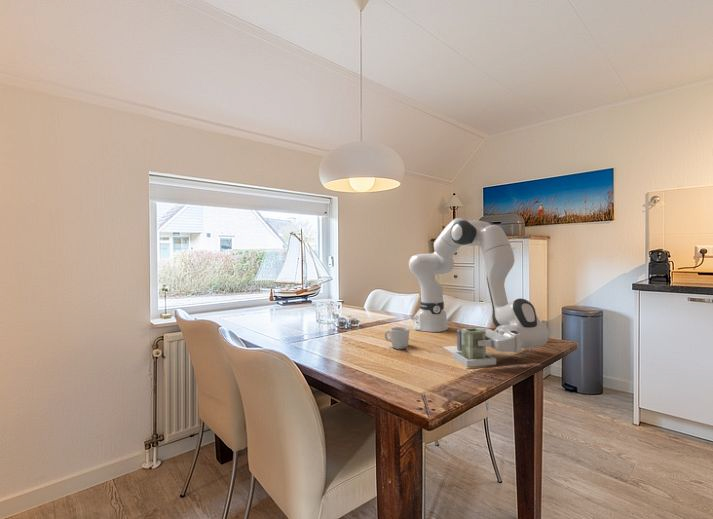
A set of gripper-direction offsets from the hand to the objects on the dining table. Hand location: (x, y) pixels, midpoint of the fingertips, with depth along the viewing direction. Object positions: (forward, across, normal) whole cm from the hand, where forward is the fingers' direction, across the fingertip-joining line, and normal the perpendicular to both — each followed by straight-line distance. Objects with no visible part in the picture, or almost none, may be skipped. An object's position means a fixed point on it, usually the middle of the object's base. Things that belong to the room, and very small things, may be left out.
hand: (471, 340), depth 127 cm
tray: (-1, 0, +8) cm, 9 cm away
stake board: (-3, -14, +9) cm, 17 cm away
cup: (+19, -27, +9) cm, 34 cm away
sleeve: (-1, 0, +7) cm, 7 cm away
